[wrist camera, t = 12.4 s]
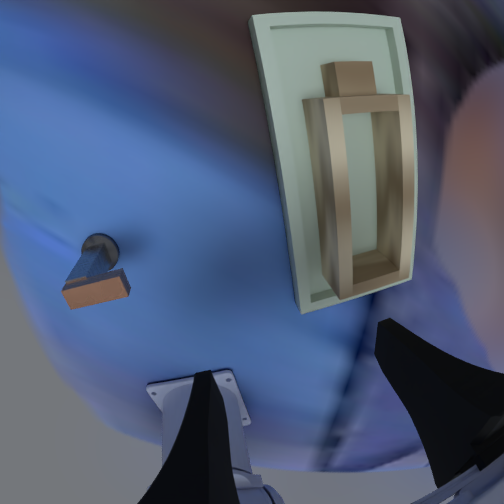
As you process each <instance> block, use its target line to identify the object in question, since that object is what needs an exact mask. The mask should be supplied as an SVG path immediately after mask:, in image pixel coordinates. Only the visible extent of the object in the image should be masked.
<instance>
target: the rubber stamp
mask: <svg viewBox="0 0 504 504" xmlns="http://www.w3.org/2000/svg"><path fill="white" fill-rule="evenodd" d="M81 252H82V255H81V257H80V258H79V260H78V262H77V263H76V265H75V266H74V268H73V269H72V271H71V273H70V274H69V276H68V278H67V279H66V281H65V282H66V284H65V285H64V287H63V289H62V291H61V292H62V294H63V296H64V298H65V300H66V301H67V303H68V305H69V307H70V309H71V310H72V309H76V308H81V307H85V306H89V305H94V304H98V303H102V302H107V301H111V300H115V299H120V298H124V297H128V296H129V293H130V289H131V287H130V284H129V282H128V280H127V277H126V275H125V273H124V270H123V268H121V269H118V270H114V271H110V272H108V271H109V270H111V269H112V268H113V267H114V266H115V265H116V263H117V261H118V258H119V249H118V246H117V244H116V243H115V241H114V240H113V239H112V238H110V237H109V236H107V235H105V234H99V233H98V234H93V235H91V236H89V237H88V238H87V239H86V241H85V242H84V244H83V246H82V251H81Z"/></svg>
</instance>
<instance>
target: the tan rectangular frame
mask: <svg viewBox="0 0 504 504" xmlns="http://www.w3.org/2000/svg"><path fill="white" fill-rule="evenodd" d="M320 68H321V73H322V79H323V85H324V91H325V97H319V98H310V99H302V104H303V110H304V116H305V123H306V130H307V136H308V143H309V151H310V158H311V166H312V174H313V182H314V191H315V199H316V209H317V219H318V229H319V240H320V252H321V265H322V275H323V277H324V278H325V280H326V281H327V282H328V284H329V285H330V287H331V288H332V290H333V291H334V292H335V294H336V295H337V297H338V298H339V300H342V299H346V298H349V297H352V296H355V295H359V294H362V293H365V292H368V291H371V290H374V289H377V288H380V287H383V286H386V285H389V284H392V283H395V282H398V281H401V280H404V279H407V278H409V273H410V263H411V252H412V239H413V222H414V142H413V125H412V113H411V102H410V95H407V94H377V91H376V84H375V77H374V70H373V64H372V61H337V62H331V63H327V64H323V65H320ZM366 112H370V113H371V122H372V132H373V143H374V157H375V173H376V198H377V249H375V250H371V251H368V252H364V253H361V254H357V255H353V256H352V227H351V207H350V191H349V177H348V166H347V155H346V145H345V136H344V127H343V119H342V115H344V114H354V113H366Z"/></svg>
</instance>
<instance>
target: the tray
mask: <svg viewBox="0 0 504 504" xmlns="http://www.w3.org/2000/svg"><path fill="white" fill-rule="evenodd" d="M248 26H249V30H250V35H251V40H252V44H253V49H254V54H255V59H256V64H257V69H258V74H259V79H260V84H261V89H262V95H263V100H264V105H265V111H266V116H267V121H268V127H269V133H270V138H271V144H272V150H273V156H274V162H275V167H276V174H277V180H278V186H279V192H280V198H281V205H282V211H283V218H284V224H285V231H286V238H287V245H288V252H289V259H290V266H291V273H292V281H293V288H294V296H295V303H296V305H297V307H298V309H299V311H300V313H301V314H305V313H308V312H312V311H315V310H319V309H322V308H325V307H329V306H332V305H335V304H339V303H342V302H345V301H348V300H351V299H355V298H358V297H361V296H364V295H367V294H370V293H373V292H376V291H379V290H382V289H385V288H388V287H391V286H394V285H397V284H400V283H403V282H405V281H408V280H411V279H412V271H413V261H414V250H415V237H416V221H417V185H418V175H417V140H416V123H415V111H414V101H413V91H412V83H411V76H410V69H409V62H408V56H407V50H406V45H405V39H404V34H403V29H402V25H401V20H400V18H397V17H390V16H382V15H372V14H361V13H345V12H287V13H271V14H259V15H252V16H251V18H250V19H249V21H248ZM337 61H372V64H373V70H374V77H375V84H376V91H377V94H407V95H410V102H411V113H412V125H413V142H414V222H413V239H412V252H411V263H410V273H409V278H407V279H404V280H401V281H398V282H395V283H392V284H389V285H386V286H383V287H380V288H377V289H374V290H371V291H368V292H365V293H362V294H359V295H355V296H352V297H349V298H346V299H342V300H339V298H338V297H337V295H336V294H335V292H334V291H333V290H332V288H331V287H330V285H329V284H328V282H327V281H326V280H325V278H324V277H323V275H322V265H321V252H320V240H319V229H318V219H317V209H316V199H315V191H314V182H313V174H312V166H311V158H310V151H309V143H308V136H307V130H306V123H305V116H304V110H303V104H302V99H310V98H319V97H325V91H324V85H323V79H322V73H321V68H320V65H323V64H327V63H331V62H337ZM342 119H343V127H344V136H345V145H346V155H347V166H348V177H349V191H350V207H351V227H352V256H353V255H357V254H361V253H364V252H368V251H371V250H375V249H377V198H376V173H375V157H374V143H373V132H372V122H371V113H370V112H366V113H354V114H344V115H342Z"/></svg>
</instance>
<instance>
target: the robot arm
mask: <svg viewBox="0 0 504 504" xmlns="http://www.w3.org/2000/svg"><path fill="white" fill-rule="evenodd" d="M374 354H375V357H376V359H377V361H378V363H379V365H380V367H381V369H382V371H383V373H384V375H385V376H386V378H387V379H388V381H389V383H390V384H391V386H392V387H393V389H394V390H395V392H396V393H397V395H398V396H399V398H400V400H401V401H402V403H403V404H404V406H405V407H406V409H407V411H408V413H409V414H410V416H411V418H412V421H413V423H414V425H415V427H416V429H417V431H418V434H419V436H420V439H421V441H422V444H423V446H424V449H425V452H426V454H427V457H428V460H429V463H430V466H431V470H432V473H433V477H434V481H435V484H436V486H437V488H438V489H437V490H435V491H433V492H432V493H430V494H428V495H426V496H425V497H423V498H421V499H419V500H417V501H415V502H413V503H411V504H439V503H441V502H442V501H444V500H446V499H447V498H449V497H451V496H452V495H454V494H455V493H456V494H455V495H454V499H453V500H452V501H450V502H449V503H447V504H504V374H503V373H499V372H494V371H491V370H487V369H484V368H481V367H478V366H475V365H472V364H470V363H467V362H465V361H463V360H460V359H458V358H456V357H454V356H452V355H450V354H448V353H446V352H444V351H442V350H440V349H438V348H437V347H435V346H433V345H431V344H430V343H428V342H426V341H425V340H423V339H422V338H420V337H418V336H417V335H415V334H414V333H412V332H411V331H409V330H408V329H406V328H405V327H403V326H402V325H400V324H399V323H397V322H396V321H394V320H393V319H391V318H388V319H385V320H383V321H380V322H378V327H377V336H376V344H375V352H374ZM227 378H229V379H227ZM146 390H147V392H148V393H149V395H150V396H151V398H152V399H153V401H154V402H155V403H156V405H157V406H158V408H159V409H160V410H161V412H162V469H161V470H160V472H159V474H158V475H157V477H156V479H155V480H154V481H153V483H152V484H151V485H150V486H149V487H148V488H147V492H146V493H145V495H144V496H143V497H142V499H141V500H140V501H139V502H138V503H137V504H285V503H284V501H283V499H282V497H281V496H280V495H279V494H278V493H277V491H276V490H275V489H274V488H273V487H271V486H269V485H263V483H262V478H261V475H253V474H252V469H251V465H250V460H249V455H248V450H247V445H246V440H245V435H244V430H243V426H246V425H249V424H251V419H250V417H249V414H248V412H247V409H246V407H245V404H244V401H243V399H242V396H241V394H240V391H239V388H238V386H237V383H236V380H235V378H234V375H233V372H232V371H230V370H224V371H219V372H215V373H212V372H211V370H208V371H203V372H198V373H196V374H195V375H194V377H190V378H184V379H179V380H173V381H167V382H161V383H155V384H149V385H147V387H146Z"/></svg>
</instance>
